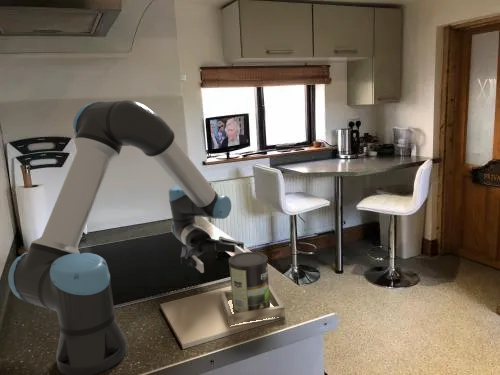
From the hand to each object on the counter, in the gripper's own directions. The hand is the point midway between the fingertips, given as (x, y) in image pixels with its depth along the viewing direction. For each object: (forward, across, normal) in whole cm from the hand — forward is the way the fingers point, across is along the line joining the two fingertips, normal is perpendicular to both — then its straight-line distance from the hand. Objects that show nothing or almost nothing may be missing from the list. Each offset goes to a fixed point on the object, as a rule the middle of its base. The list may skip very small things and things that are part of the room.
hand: (225, 262), depth 118 cm
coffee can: (+9, -3, -10) cm, 14 cm away
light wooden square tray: (+10, -3, -11) cm, 15 cm away
